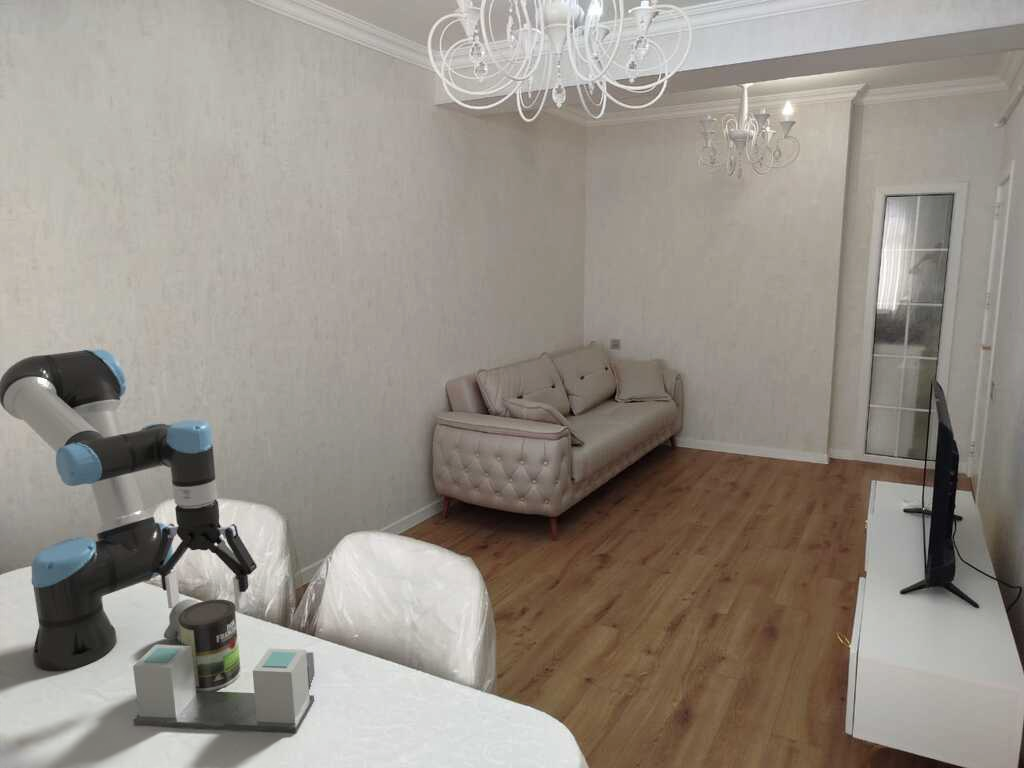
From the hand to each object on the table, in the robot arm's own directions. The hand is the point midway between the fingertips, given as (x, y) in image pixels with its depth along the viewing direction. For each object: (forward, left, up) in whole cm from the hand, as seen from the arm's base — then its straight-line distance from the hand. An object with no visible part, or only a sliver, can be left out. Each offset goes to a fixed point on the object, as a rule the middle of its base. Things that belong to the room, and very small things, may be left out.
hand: (207, 605), depth 139 cm
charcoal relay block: (+18, -1, -16) cm, 24 cm away
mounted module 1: (-3, -11, -14) cm, 18 cm away
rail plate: (+8, -11, -15) cm, 20 cm away
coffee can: (0, 0, -16) cm, 16 cm away
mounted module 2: (+19, -11, -14) cm, 26 cm away
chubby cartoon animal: (-12, +15, -16) cm, 25 cm away
